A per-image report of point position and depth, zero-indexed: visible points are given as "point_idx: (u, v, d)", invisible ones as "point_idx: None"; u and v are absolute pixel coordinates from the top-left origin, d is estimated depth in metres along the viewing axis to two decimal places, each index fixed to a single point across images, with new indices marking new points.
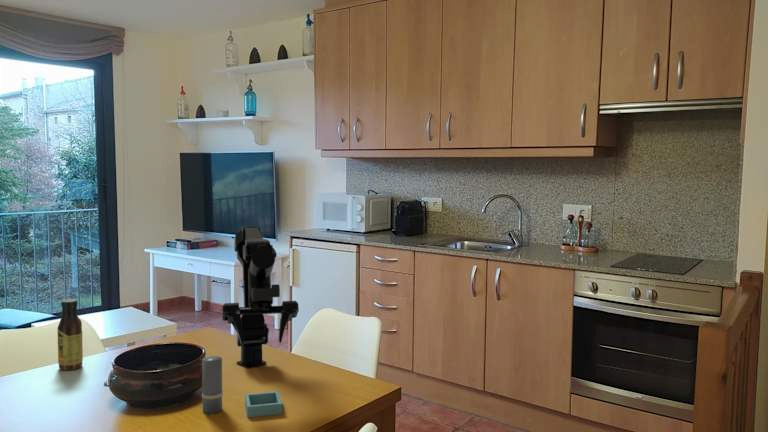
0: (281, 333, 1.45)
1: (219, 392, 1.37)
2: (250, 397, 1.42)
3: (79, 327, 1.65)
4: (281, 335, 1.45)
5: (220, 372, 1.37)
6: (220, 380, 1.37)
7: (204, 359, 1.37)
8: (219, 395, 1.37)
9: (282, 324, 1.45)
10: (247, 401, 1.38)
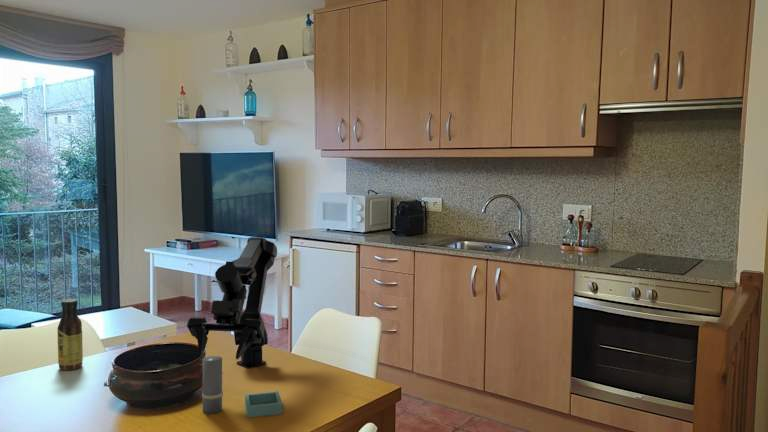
0: (238, 349, 1.43)
1: (219, 392, 1.37)
2: (250, 397, 1.42)
3: (79, 327, 1.65)
4: (238, 351, 1.42)
5: (220, 372, 1.37)
6: (220, 380, 1.37)
7: (204, 359, 1.37)
8: (219, 395, 1.37)
9: (241, 340, 1.44)
10: (247, 401, 1.38)
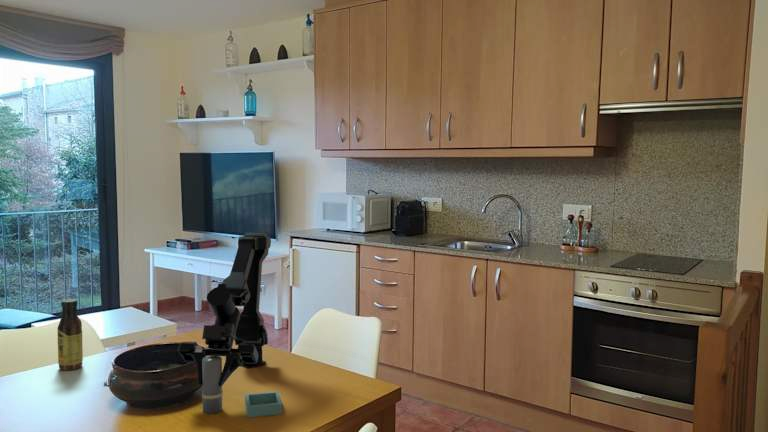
0: (222, 376, 1.37)
1: (219, 392, 1.37)
2: (250, 397, 1.42)
3: (79, 327, 1.65)
4: (222, 378, 1.37)
5: (220, 372, 1.37)
6: None
7: (204, 359, 1.37)
8: (219, 395, 1.37)
9: (225, 366, 1.38)
10: (247, 401, 1.38)
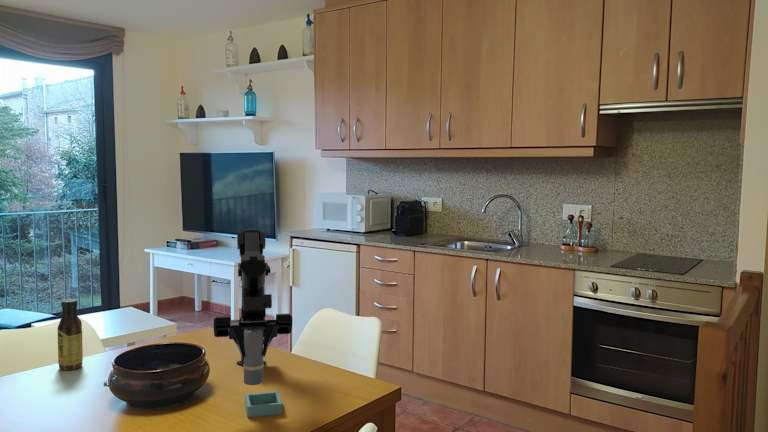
0: (265, 346, 1.38)
1: (262, 363, 1.38)
2: (250, 397, 1.42)
3: (79, 327, 1.65)
4: (265, 348, 1.38)
5: (262, 343, 1.38)
6: (262, 351, 1.38)
7: (246, 331, 1.37)
8: (262, 366, 1.38)
9: (266, 337, 1.39)
10: (247, 401, 1.38)
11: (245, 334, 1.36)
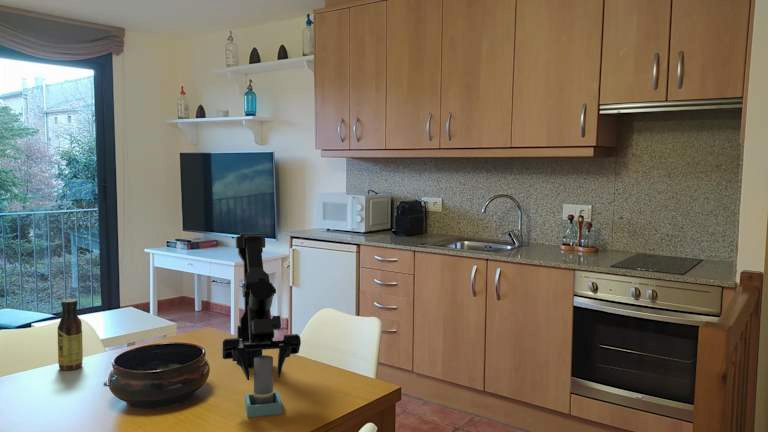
0: (280, 367, 1.40)
1: (272, 390, 1.39)
2: (250, 397, 1.42)
3: (79, 327, 1.65)
4: (280, 369, 1.39)
5: (272, 370, 1.39)
6: (272, 378, 1.39)
7: (256, 359, 1.38)
8: (272, 393, 1.39)
9: (280, 358, 1.41)
10: (247, 401, 1.38)
11: (255, 362, 1.37)
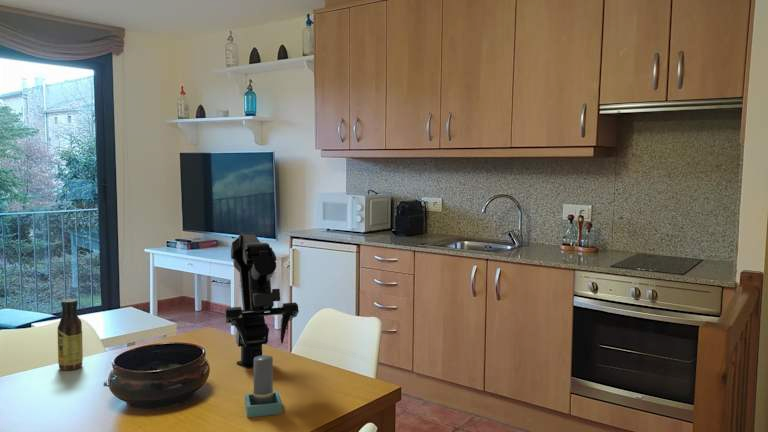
0: (282, 334, 1.52)
1: (272, 390, 1.39)
2: (250, 397, 1.42)
3: (79, 327, 1.65)
4: (283, 336, 1.52)
5: (272, 370, 1.39)
6: (272, 378, 1.39)
7: (256, 359, 1.38)
8: (272, 393, 1.39)
9: (283, 325, 1.52)
10: (247, 401, 1.38)
11: (255, 362, 1.37)
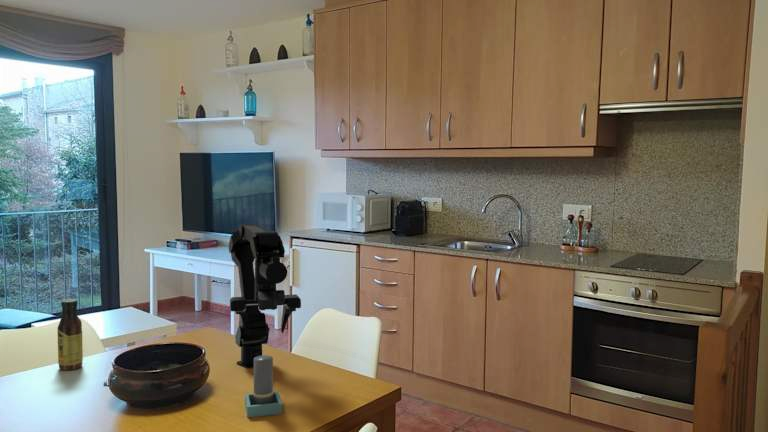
0: (283, 326, 1.59)
1: (272, 390, 1.39)
2: (250, 397, 1.42)
3: (79, 327, 1.65)
4: (283, 327, 1.59)
5: (272, 370, 1.39)
6: (272, 378, 1.39)
7: (256, 359, 1.38)
8: (272, 393, 1.39)
9: (285, 318, 1.58)
10: (247, 401, 1.38)
11: (255, 362, 1.37)
